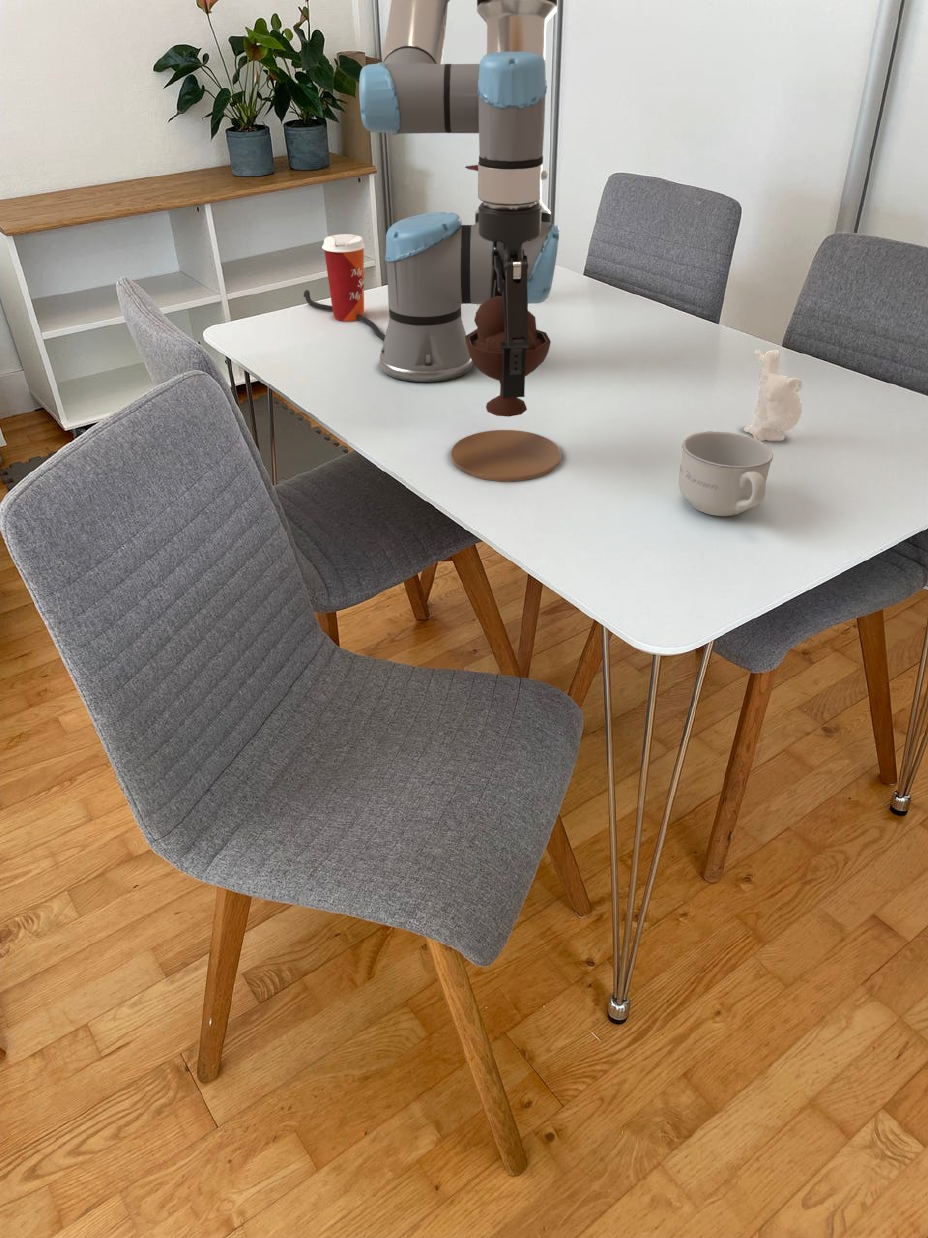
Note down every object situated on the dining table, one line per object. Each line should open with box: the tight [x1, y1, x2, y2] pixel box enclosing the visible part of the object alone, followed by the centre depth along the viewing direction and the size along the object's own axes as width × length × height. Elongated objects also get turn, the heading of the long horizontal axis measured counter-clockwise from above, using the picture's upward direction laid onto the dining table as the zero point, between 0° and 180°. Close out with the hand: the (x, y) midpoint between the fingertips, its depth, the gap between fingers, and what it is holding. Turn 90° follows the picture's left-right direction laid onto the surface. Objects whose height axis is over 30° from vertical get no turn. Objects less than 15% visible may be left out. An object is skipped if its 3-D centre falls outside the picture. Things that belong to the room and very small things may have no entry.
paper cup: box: [321, 233, 366, 322], centre depth 183 cm, size 8×8×14 cm
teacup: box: [678, 430, 774, 517], centre depth 123 cm, size 14×11×8 cm
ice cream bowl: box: [465, 296, 552, 418], centre depth 130 cm, size 11×11×15 cm
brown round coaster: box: [450, 429, 562, 482], centre depth 138 cm, size 15×15×1 cm
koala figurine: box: [743, 348, 803, 442], centre depth 139 cm, size 8×7×12 cm
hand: (507, 379), depth 132 cm, fingers closed on ice cream bowl, 11 cm apart
